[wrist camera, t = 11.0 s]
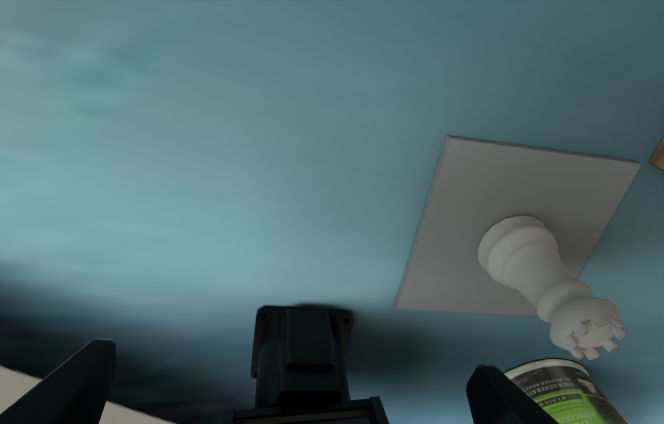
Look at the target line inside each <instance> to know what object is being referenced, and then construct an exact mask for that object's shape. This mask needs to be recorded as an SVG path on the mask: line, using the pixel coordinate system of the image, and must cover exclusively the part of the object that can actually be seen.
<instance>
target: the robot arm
mask: <svg viewBox="0 0 664 424" xmlns="http://www.w3.org/2000/svg"><path fill="white" fill-rule="evenodd" d="M263 314H265V315H266V316H263ZM345 318H348V319H345ZM352 325H353V315H352V313H351V312H349V311H334V310H313V309H293V308H272V307H262V308H259V309H258V310H257V312H256V323H255V333H254V344H253V354H252V365H251V377H252V378H254V379H257V383H256V397H255V408H252V409H240V410H236V409H235V408H231V409H225V412H224V416H223V420H222V423H219V424H389V422H388V419H387V416H386V414H385V411H384V408H383V405H382V403H381V400H380V397H379V396H377V397H370V399H361V400H350V394H349V388H348V381H347V375H346V369H345V363H344V357H345V353H346V349H347V345H348V341H349V337H350V333H351V329H352ZM116 367H117V359H116V344H115V341H114V340H112V339H100V338H96V339H93V340H91V341H90V342H89V343H88V344H86V345H85V346H84V347H83V348H81V349H80V350H79V351H78V352H77V353H75V354H74V355H73V356H72V357H70V358H69V359H68V360H67V361H65V362H64V363H63V364H62V365H60V366H59V367H58V368H57V369H56V370H54V371H53V372H52V373H51V374H49V375H48V376H47V377H46V378H44V379H43V380H42V381H41V382H39V383H38V384H37V385H36V386H35V387H33V388H32V389H31V390H30V391H28V392H27V393H26V394H25V395H23V396H22V397H21V398H20V399H18V400H17V401H16V402H15V403H14V404H13V405H11V406H10V407H9V408H7V409H6V410H5V411H4V412H2V413H1V414H0V424H99V421H100V418H101V415H102V412H103V409H104V406H105V403H106V400H107V397H108V394H109V391H110V388H111V385H112V382H113V379H114V376H115V373H116ZM466 392H467V397H468V401H469V405H470V410H471V414H472V418H473V422H474V424H559V423H558V422H557V421H556V420H555V419H554V418H553V417H552V416H550V415H549V414H548V413H547V412H546V411H545V410H544V409H543V408H541V407H540V406H539V405H538V404H537V403H536V402H535V401H534V400H533V399H531V398H530V397H529V396H528V395H527V394H526V393H525V392H524V391H522V390H521V389H520V388H519V387H518V386H517V385H516V384H515V383H514V382H512V381H511V380H510V379H509V378H508V377H507V376H506V375H505V374H504V373H502V372H501V371H500V370H499V369H498V368H497V367H495V366H493V365H485V364H480V365H478V366H477V367H476V369H475V371H474V372H473V374H472V376H471V378H470V379H469V381H468V383H467V386H466Z"/></svg>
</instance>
